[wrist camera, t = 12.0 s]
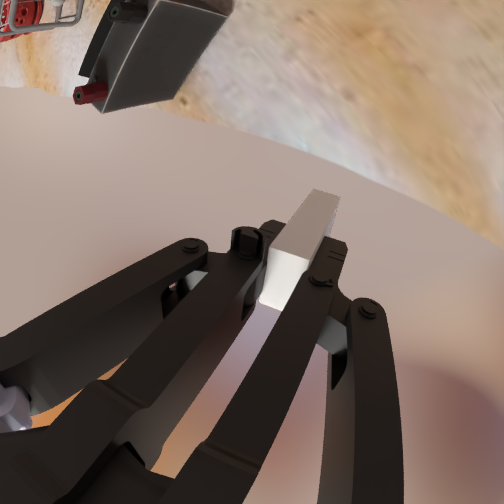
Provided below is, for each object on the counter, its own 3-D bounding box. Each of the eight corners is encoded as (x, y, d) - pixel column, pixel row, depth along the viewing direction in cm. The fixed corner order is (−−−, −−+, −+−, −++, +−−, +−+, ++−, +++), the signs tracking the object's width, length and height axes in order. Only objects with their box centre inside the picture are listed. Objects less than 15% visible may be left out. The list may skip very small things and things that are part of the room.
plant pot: (23, 41, 50) (-12, 48, 41) (27, 1, 43) (-8, 6, 34) (43, 31, 47) (4, 37, 37) (49, -13, 39) (9, -10, 30)
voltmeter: (164, -20, 33) (66, -37, 18) (232, 18, 34) (134, -6, 19) (122, 53, 44) (28, 64, 28) (178, 98, 44) (78, 120, 29)
